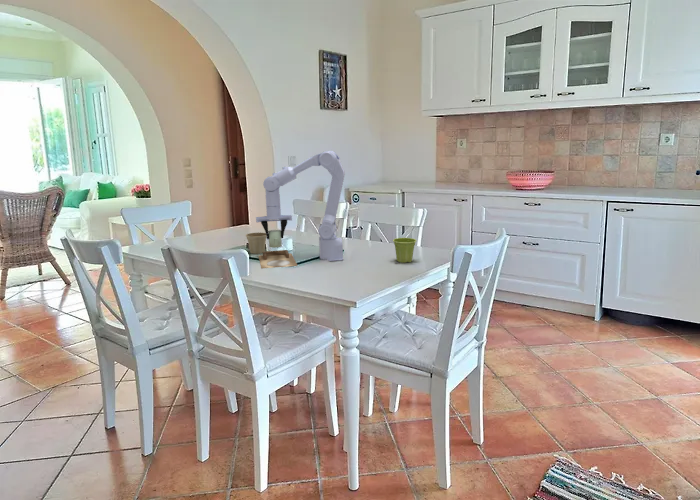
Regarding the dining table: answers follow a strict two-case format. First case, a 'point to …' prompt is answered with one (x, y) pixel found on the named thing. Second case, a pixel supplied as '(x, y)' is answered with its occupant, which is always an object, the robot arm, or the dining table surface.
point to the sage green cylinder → (275, 238)
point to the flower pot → (256, 242)
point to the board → (276, 259)
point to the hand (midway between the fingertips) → (275, 238)
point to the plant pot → (404, 249)
